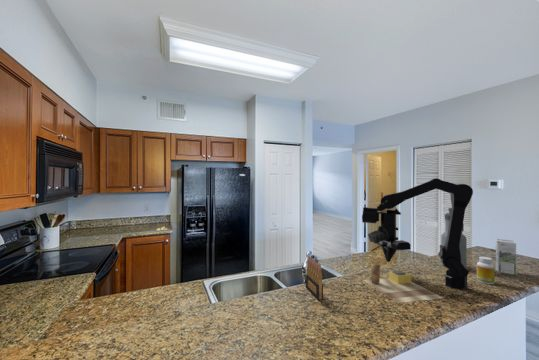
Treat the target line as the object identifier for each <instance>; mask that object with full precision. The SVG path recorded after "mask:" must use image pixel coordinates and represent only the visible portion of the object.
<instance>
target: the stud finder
mask: <svg viewBox="0 0 539 360" xmlns="http://www.w3.org/2000/svg"><path fill="white" fill-rule="evenodd" d="M388 278H389V279H390V280H392V281H393V282H395V283H397V284H404V283H411V282H412V274H410V273H408V272H406V271H404V270H392V271H391V270H390V271H388Z"/></svg>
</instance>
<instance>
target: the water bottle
mask: <svg viewBox="0 0 539 360" xmlns="http://www.w3.org/2000/svg"><path fill="white" fill-rule="evenodd" d="M451 209H452V207H449V208H447V210H448V212H447V213H445V214H444V221H445V222H444V223H445V225H444V227H445V228H444V233H442V234H441V238H440V241H441V242H440V245H442V246H444V245H445V243H446V240H447V234H448V228H449V222H450V216H451ZM464 228H465V227H464V223H463V227H462V233H461V239H460V245H459V246H460V253H461V263H462V264H463V265H464V266H465V267H466V268H467V264H468V263H467V254H468V253H467V247H468V246H467V245H468V244H467V240H468V239H467V237H466V235H464V234H463V232H464ZM440 263H441V265H442V267H445V266H444V264H443V263H442V261H441V260H440Z"/></svg>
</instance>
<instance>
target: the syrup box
mask: <svg viewBox="0 0 539 360" xmlns="http://www.w3.org/2000/svg"><path fill="white" fill-rule="evenodd" d="M495 270H496V271H497V272H498V273H499V274H505V275H511V276H517V243H516V242H515V241H514V240H510V239H501V238H496V239H495Z"/></svg>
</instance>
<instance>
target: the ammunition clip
mask: <svg viewBox="0 0 539 360" xmlns="http://www.w3.org/2000/svg"><path fill="white" fill-rule="evenodd" d="M306 266H307V267H306V274H305V289H307V291H308V292H309V293H311V295H312V296H313V297H314V298H315V299H316V300H317V301H323V300H324V284H323V274H322V270H323V269H322V264H321V263H319V262H318V261H317V260H315V259H314V258H313V257H311V256H310V255H308V258H307V265H306Z"/></svg>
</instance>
